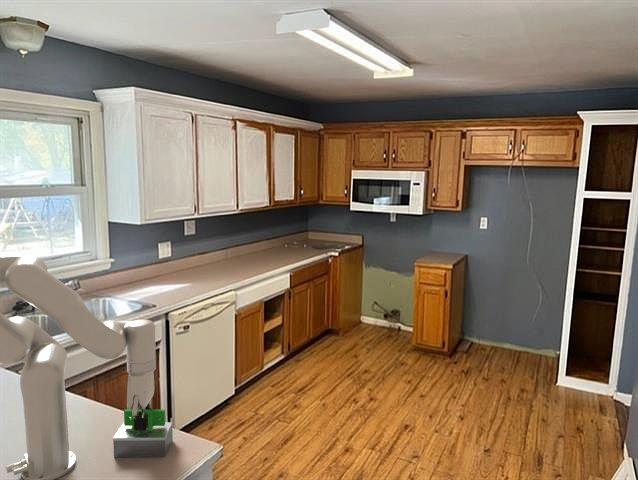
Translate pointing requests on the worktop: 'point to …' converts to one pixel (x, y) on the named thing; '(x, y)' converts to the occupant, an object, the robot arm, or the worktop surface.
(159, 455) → the gray rectangular block
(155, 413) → the pipe clamp
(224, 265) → the worktop surface
